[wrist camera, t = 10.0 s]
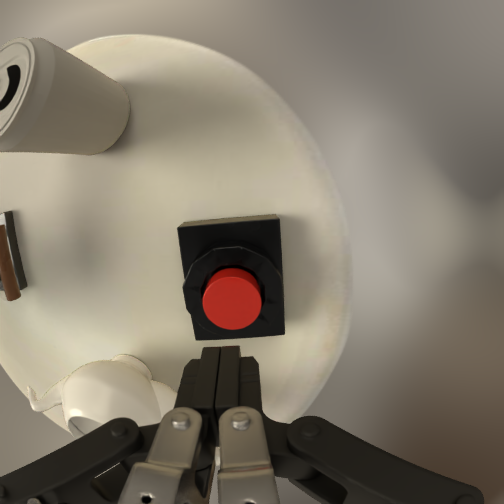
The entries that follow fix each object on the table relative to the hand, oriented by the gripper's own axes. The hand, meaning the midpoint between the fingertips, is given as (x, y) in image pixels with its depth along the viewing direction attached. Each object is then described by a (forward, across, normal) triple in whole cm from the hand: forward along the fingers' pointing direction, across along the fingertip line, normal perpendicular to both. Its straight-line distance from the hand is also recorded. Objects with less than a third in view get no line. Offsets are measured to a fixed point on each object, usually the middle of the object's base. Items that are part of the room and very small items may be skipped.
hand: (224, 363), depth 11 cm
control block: (+11, 0, 0) cm, 11 cm away
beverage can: (+12, +10, -14) cm, 21 cm away
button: (+8, 0, 0) cm, 8 cm away
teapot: (+12, +12, +10) cm, 19 cm away
